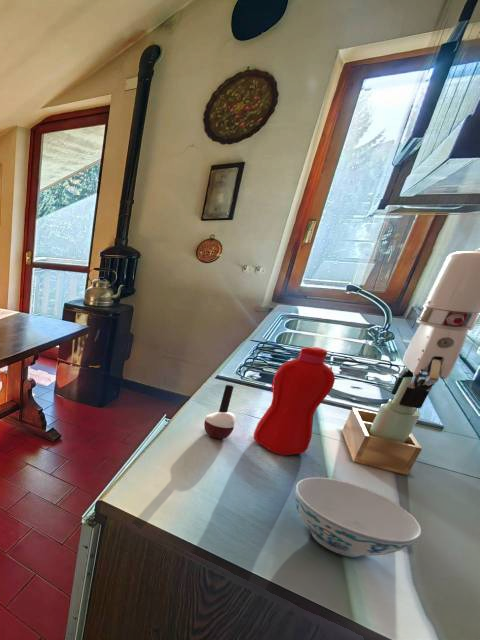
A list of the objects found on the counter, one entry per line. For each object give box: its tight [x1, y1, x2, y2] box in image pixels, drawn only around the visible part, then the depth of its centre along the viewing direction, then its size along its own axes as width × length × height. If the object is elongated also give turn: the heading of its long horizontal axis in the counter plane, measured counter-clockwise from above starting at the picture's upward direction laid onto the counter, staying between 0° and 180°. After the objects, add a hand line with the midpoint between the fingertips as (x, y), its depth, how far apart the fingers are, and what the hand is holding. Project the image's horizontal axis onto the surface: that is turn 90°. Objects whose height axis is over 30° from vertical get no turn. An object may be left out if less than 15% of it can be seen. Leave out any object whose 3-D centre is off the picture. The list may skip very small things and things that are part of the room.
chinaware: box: [294, 477, 422, 558], centre depth 65 cm, size 15×15×8 cm
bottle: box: [368, 377, 422, 443], centre depth 85 cm, size 6×6×19 cm
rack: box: [341, 407, 423, 476], centre depth 91 cm, size 9×17×7 cm, turn 145°
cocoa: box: [203, 384, 236, 440], centre depth 96 cm, size 10×6×12 cm, turn 122°
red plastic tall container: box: [253, 346, 336, 456], centre depth 90 cm, size 9×11×25 cm
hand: (405, 399), depth 83 cm, fingers open, 5 cm apart
